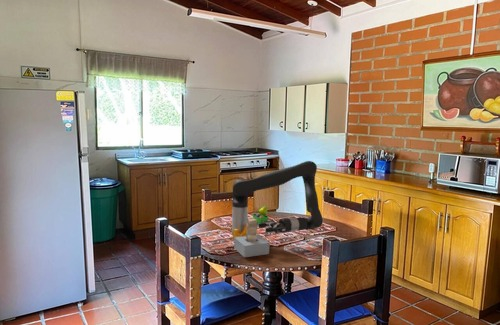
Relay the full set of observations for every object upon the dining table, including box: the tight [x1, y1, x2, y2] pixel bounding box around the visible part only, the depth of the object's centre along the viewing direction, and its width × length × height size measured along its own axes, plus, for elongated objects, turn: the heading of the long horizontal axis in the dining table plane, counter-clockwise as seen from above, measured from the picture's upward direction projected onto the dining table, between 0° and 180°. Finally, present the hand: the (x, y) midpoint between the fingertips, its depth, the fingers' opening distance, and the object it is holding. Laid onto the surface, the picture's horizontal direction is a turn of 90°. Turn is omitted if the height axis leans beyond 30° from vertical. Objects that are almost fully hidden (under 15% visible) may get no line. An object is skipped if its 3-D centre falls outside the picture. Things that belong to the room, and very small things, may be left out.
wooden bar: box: [246, 218, 258, 242], centre depth 188 cm, size 3×4×16 cm
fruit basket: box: [252, 205, 269, 225], centre depth 242 cm, size 11×9×11 cm
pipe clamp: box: [232, 225, 247, 241], centre depth 208 cm, size 12×4×6 cm, turn 141°
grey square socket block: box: [233, 234, 270, 258], centre depth 188 cm, size 14×14×6 cm
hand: (262, 227), depth 190 cm, fingers open, 8 cm apart
